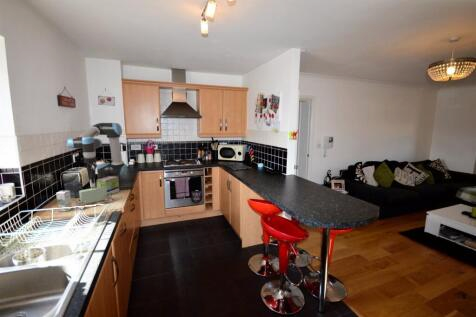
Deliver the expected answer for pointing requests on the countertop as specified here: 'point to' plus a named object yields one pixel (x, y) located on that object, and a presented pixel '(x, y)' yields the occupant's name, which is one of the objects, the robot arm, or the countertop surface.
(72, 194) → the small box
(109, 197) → the cradle
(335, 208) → the countertop surface
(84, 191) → the pale green block
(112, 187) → the tea box
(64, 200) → the syrup box
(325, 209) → the countertop surface
